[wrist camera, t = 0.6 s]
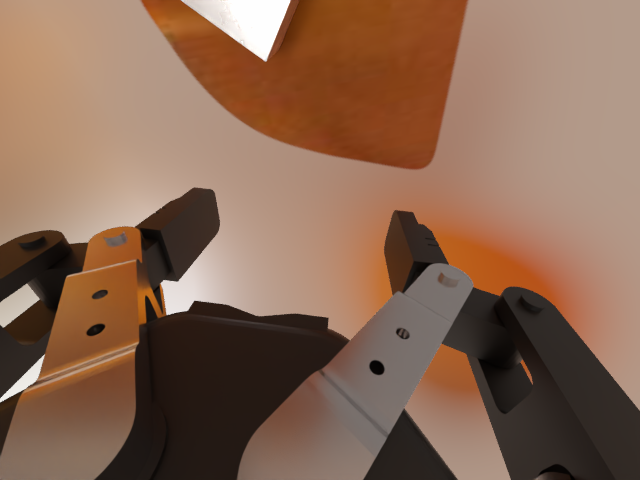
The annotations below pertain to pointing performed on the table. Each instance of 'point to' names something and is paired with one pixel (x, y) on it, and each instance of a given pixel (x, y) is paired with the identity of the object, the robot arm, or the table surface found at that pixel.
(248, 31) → the housing
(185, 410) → the robot arm
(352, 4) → the table surface
